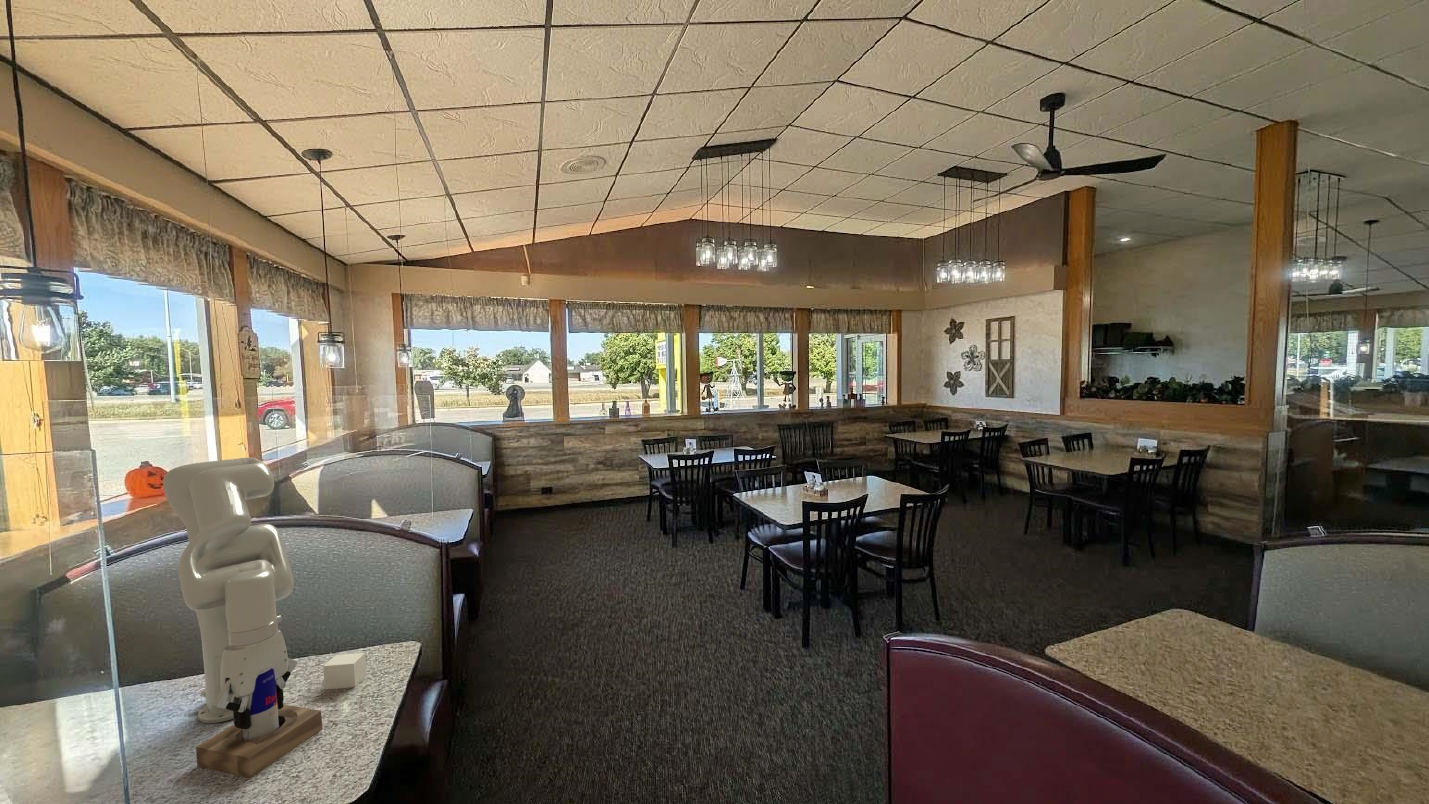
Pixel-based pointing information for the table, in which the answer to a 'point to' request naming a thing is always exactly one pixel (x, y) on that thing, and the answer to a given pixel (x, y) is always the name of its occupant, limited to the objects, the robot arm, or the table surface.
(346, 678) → the white cube
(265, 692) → the beverage can
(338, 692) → the table surface
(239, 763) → the holder
